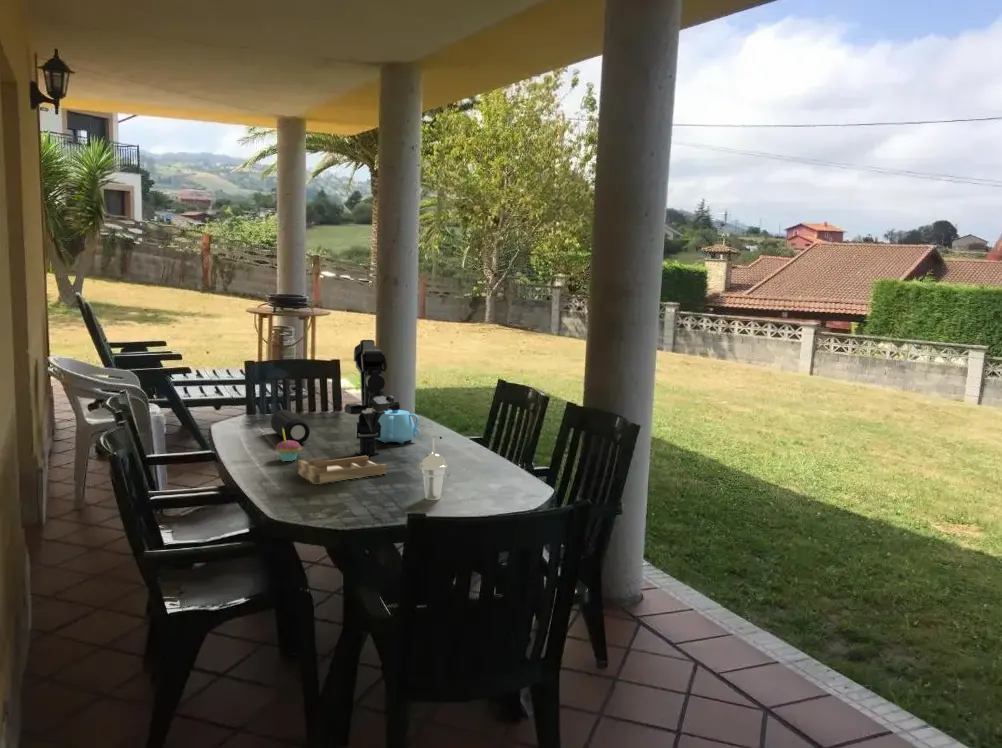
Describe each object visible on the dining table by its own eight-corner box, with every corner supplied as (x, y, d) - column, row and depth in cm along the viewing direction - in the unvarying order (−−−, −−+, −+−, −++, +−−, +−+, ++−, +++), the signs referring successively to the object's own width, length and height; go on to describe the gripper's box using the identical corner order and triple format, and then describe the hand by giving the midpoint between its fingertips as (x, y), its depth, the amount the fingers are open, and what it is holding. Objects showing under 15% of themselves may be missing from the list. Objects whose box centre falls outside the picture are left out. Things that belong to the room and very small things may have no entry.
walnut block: (308, 471, 259) (308, 459, 259) (321, 469, 262) (321, 457, 261) (314, 474, 256) (313, 462, 255) (327, 472, 258) (327, 460, 258)
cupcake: (276, 463, 276) (275, 429, 274) (276, 457, 284) (275, 424, 282) (301, 462, 278) (301, 429, 276) (301, 456, 286) (300, 424, 285)
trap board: (298, 474, 262) (298, 460, 262) (367, 465, 277) (367, 451, 276) (315, 485, 251) (315, 469, 251) (386, 474, 266) (386, 459, 265)
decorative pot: (404, 435, 327) (405, 402, 325) (422, 442, 313) (423, 408, 312) (367, 439, 318) (367, 405, 316) (384, 447, 305) (384, 412, 303)
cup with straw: (447, 494, 245) (448, 430, 243) (446, 503, 236) (447, 437, 234) (419, 493, 245) (420, 429, 242) (417, 502, 236) (418, 436, 233)
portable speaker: (311, 444, 306) (311, 419, 304) (285, 447, 301) (285, 421, 299) (293, 431, 328) (293, 407, 326) (269, 433, 323) (269, 409, 321)
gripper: (358, 392, 261) (358, 438, 263) (408, 388, 272) (407, 433, 274) (343, 387, 270) (343, 432, 272) (392, 383, 281) (392, 427, 283)
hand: (372, 431), depth 275 cm, fingers closed
